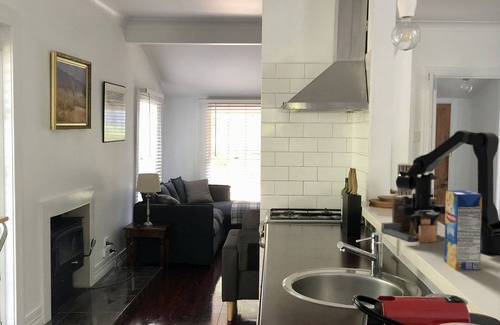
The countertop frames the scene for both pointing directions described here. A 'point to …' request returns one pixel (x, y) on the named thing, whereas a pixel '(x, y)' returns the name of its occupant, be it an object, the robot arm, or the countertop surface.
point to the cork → (412, 224)
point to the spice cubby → (405, 219)
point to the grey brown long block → (424, 235)
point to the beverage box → (463, 229)
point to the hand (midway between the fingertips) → (422, 233)
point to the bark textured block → (400, 168)
